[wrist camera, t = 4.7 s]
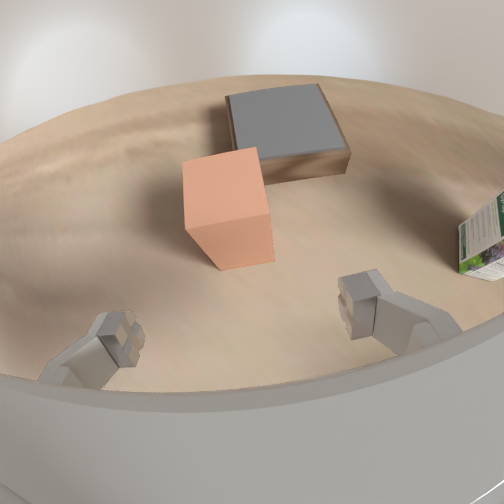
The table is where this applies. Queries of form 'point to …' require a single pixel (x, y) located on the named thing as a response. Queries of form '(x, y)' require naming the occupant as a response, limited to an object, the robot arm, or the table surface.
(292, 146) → the walnut plinth
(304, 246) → the table surface
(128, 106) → the table surface
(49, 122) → the table surface
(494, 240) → the syrup box
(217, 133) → the table surface
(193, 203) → the terracotta block
